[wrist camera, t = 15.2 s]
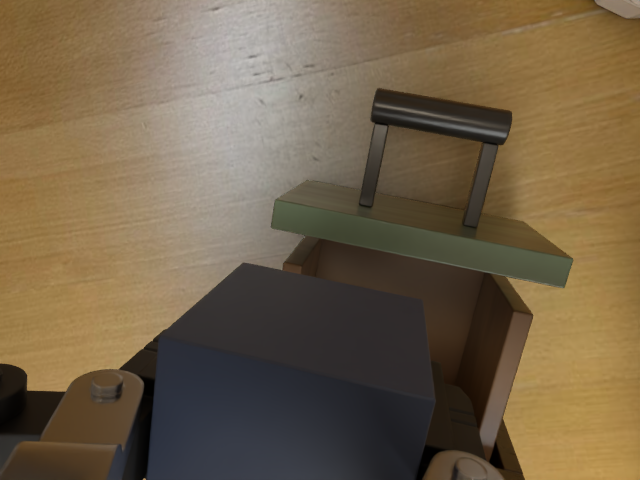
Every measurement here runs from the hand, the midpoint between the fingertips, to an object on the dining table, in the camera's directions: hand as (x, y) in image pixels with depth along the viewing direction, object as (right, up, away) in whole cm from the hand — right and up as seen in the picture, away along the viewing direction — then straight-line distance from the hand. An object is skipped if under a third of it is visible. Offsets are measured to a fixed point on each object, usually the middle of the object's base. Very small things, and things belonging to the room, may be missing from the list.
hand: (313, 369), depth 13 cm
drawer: (+4, +1, +14) cm, 15 cm away
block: (0, 0, 0) cm, 0 cm away
